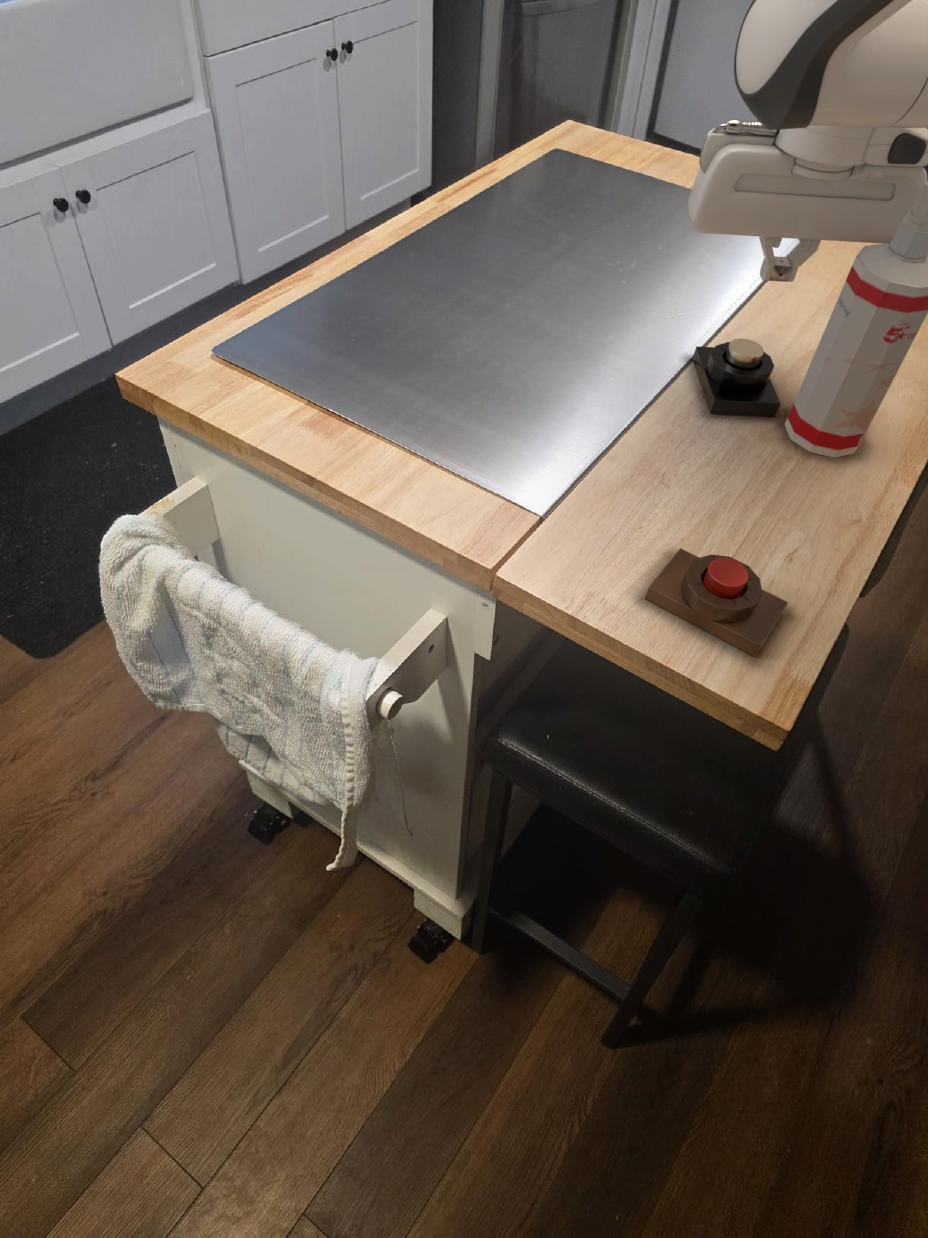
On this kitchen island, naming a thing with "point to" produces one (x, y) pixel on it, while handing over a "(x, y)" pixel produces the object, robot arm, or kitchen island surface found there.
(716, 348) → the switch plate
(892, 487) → the kitchen island surface
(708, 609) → the block
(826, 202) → the robot arm
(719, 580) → the bell button
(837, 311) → the spray bottle
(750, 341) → the switch button
